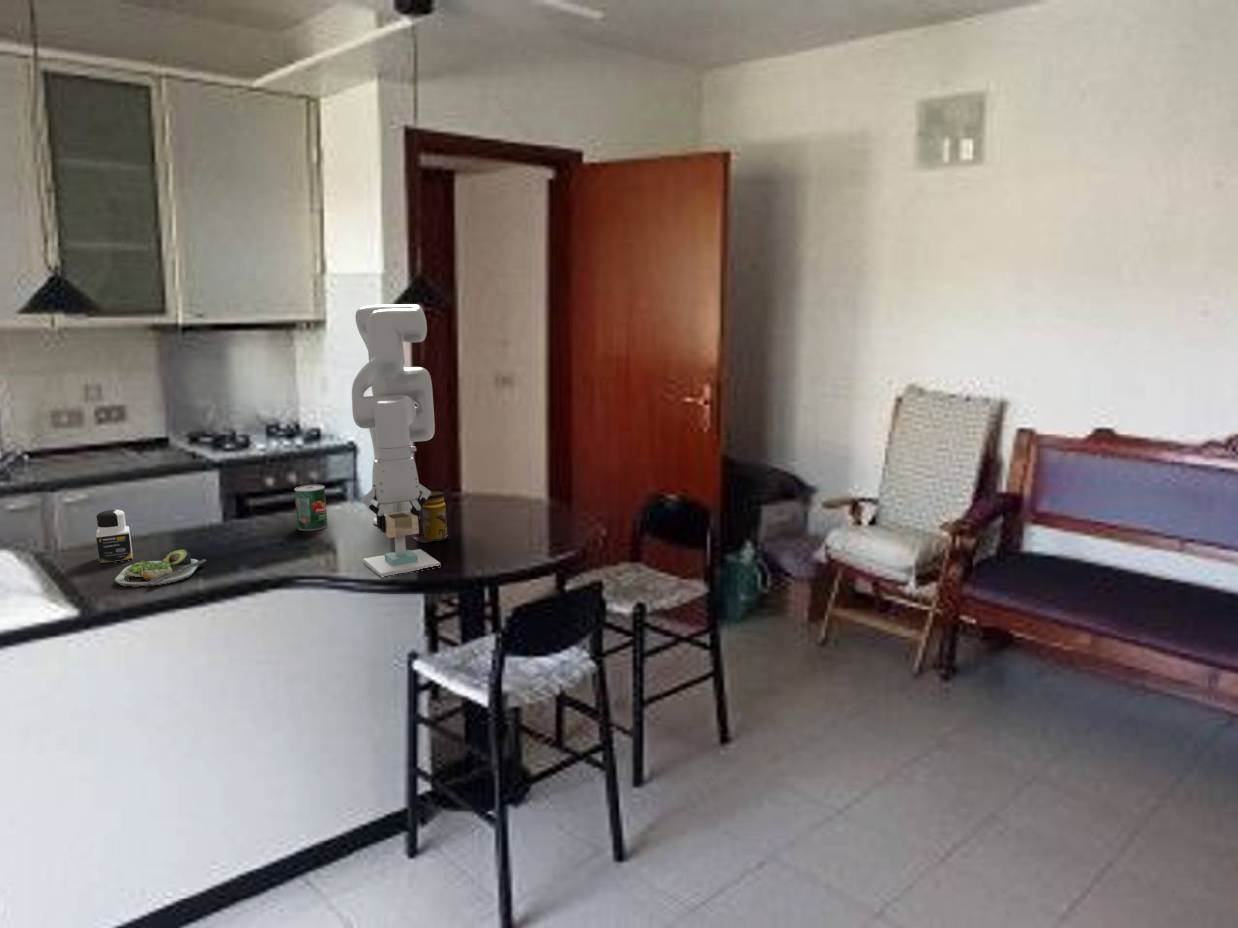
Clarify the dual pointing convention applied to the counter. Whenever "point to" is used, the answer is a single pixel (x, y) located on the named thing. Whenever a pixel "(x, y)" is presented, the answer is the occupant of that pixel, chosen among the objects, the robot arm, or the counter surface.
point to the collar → (401, 524)
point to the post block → (400, 560)
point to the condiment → (434, 516)
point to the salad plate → (161, 570)
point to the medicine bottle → (113, 536)
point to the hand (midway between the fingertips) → (399, 528)
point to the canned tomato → (311, 507)
